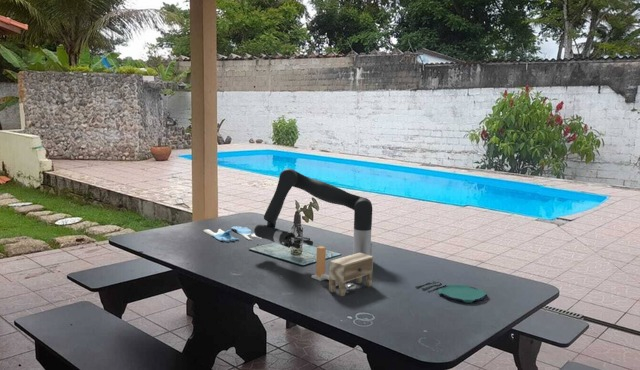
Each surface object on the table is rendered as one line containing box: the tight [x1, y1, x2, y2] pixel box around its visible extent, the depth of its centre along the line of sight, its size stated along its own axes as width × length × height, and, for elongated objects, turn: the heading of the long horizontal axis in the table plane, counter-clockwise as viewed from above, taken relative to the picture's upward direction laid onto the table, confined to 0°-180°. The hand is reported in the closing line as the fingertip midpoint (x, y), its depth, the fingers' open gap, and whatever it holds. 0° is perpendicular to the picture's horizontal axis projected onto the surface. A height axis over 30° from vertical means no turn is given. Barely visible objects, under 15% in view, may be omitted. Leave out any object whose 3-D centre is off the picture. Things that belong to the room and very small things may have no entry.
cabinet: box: [328, 253, 374, 297], centre depth 241 cm, size 10×20×14 cm, turn 134°
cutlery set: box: [415, 281, 488, 303], centre depth 241 cm, size 20×30×2 cm, turn 44°
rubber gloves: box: [203, 225, 263, 243], centre depth 332 cm, size 27×33×6 cm
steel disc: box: [345, 282, 357, 292], centre depth 243 cm, size 5×5×2 cm
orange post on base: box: [311, 245, 347, 287], centre depth 252 cm, size 16×8×15 cm, turn 44°
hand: (306, 245), depth 262 cm, fingers open, 8 cm apart
